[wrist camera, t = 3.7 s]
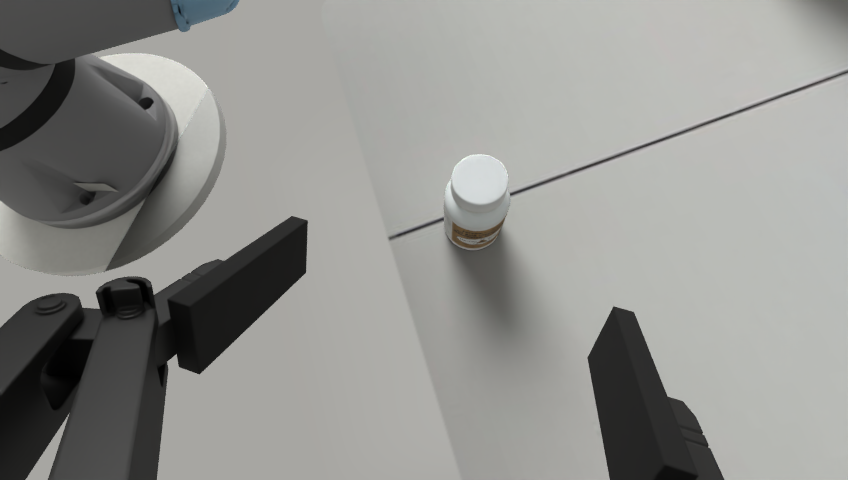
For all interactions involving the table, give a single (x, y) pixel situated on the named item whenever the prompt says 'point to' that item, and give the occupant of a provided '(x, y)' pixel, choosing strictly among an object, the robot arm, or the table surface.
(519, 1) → the table surface
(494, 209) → the pill bottle
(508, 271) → the table surface
